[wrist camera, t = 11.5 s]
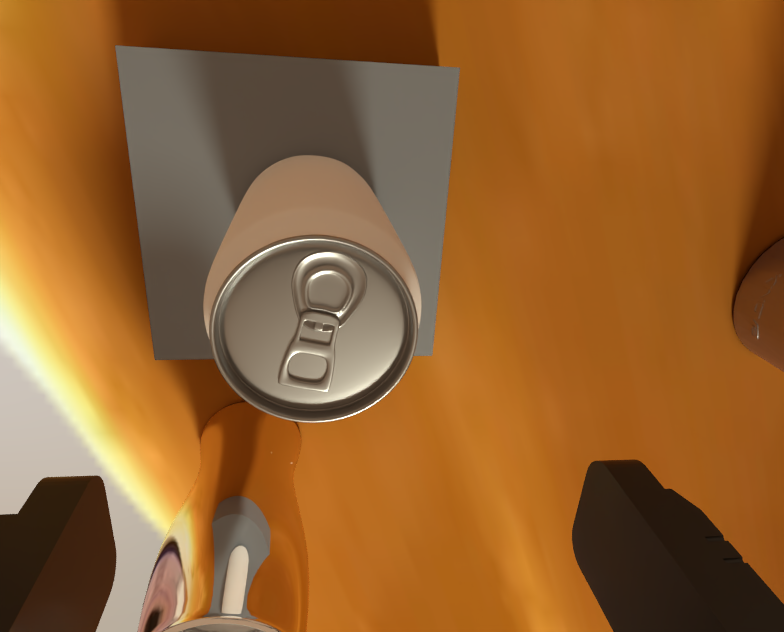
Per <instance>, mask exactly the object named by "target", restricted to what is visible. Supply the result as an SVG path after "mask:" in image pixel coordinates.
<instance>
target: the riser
mask: <svg viewBox="0 0 784 632" xmlns="http://www.w3.org/2000/svg"><path fill="white" fill-rule="evenodd" d="M115 48H116V56H117V64H118V72H119V80H120V88H121V96H122V104H123V112H124V119H125V127H126V135H127V143H128V151H129V159H130V167H131V175H132V183H133V191H134V199H135V207H136V215H137V222H138V230H139V238H140V246H141V254H142V262H143V270H144V278H145V286H146V294H147V302H148V310H149V317H150V325H151V333H152V341H153V349H154V357H155V360H184V359H214V357H213V354H212V350H211V345H210V339H209V337H208V334H207V330H206V326H205V321H204V312H203V302H204V292H205V286H206V281H207V278H208V274H209V272H210V269H211V266H212V264H213V261H214V259H215V257H216V254H217V252H218V250H219V247H220V245H221V243H222V241H223V239H224V237H225V235H226V232H227V230H228V228H229V226H230V224H231V222H232V220H233V218H234V216H235V214H236V212H237V210H238V207H239V205H240V203H241V201H242V199H243V198H244V196H245V194H246V192H247V190H248V189H249V187H250V186H251V184H252V183H253V181H254V180H255V179H256V178H257V177H258V176H259V175H260V174H261V173H262V172H263V171H264V170H266V169H267V168H268V167H270V166H271V165H273V164H275V163H277V162H279V161H281V160H283V159H286V158H289V157H294V156H300V155H315V156H324V157H328V158H332V159H335V160H338V161H341V162H343V163H345V164H346V165H348V166H349V167H351V168H352V169H353V170H355V171H356V172H357V173H358V174H359V175H360V176H361V177H362V178H363V179H364V180H365V181H366V183H367V184H368V185H369V187H370V188H371V189H372V191H373V193H374V194H375V196H376V198H377V199H378V201H379V203H380V205H381V206H382V208H383V210H384V212H385V213H386V215H387V217H388V219H389V221H390V222H391V224H392V226H393V228H394V230H395V231H396V233H397V235H398V237H399V239H400V241H401V243H402V244H403V246H404V248H405V250H406V252H407V254H408V256H409V258H410V260H411V262H412V265H413V267H414V269H415V272H416V275H417V279H418V283H419V287H420V293H421V318H420V324H419V329H418V338H417V344H416V349H415V352H414V355H413V356H432V353H433V342H434V332H435V321H436V311H437V301H438V290H439V280H440V269H441V259H442V249H443V238H444V228H445V217H446V207H447V197H448V186H449V176H450V165H451V155H452V144H453V134H454V124H455V113H456V103H457V92H458V82H459V72H460V68H455V67H440V66H425V65H409V64H394V63H378V62H363V61H348V60H332V59H317V58H301V57H286V56H271V55H255V54H240V53H224V52H209V51H194V50H178V49H163V48H147V47H132V46H117V45H115Z"/></svg>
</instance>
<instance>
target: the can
mask: <svg viewBox="0 0 784 632" xmlns="http://www.w3.org/2000/svg"><path fill="white" fill-rule="evenodd" d="M203 312H204V321H205V326H206V330H207V334H208V337H209V339H210V345H211V350H212V354H213V357H214V360H215V362H216V365H217V367H218V369H219V371H220V373H221V374H222V376H223V377H224V379H225V380H226V382H227V383H228V384H229V386H230V387H231V388H232V389H233V390H234V391H235V392H236V393H237V394H238V395H239V396H240V397H241V398H243V399H244V400H245V401H246V402H248V403H249V404H251V405H252V406H254V407H255V408H257V409H259V410H261V411H263V412H265V413H267V414H270V415H272V416H275V417H278V418H281V419H285V420H290V421H295V422H305V423H320V422H329V421H335V420H340V419H343V418H347V417H350V416H353V415H355V414H358V413H360V412H362V411H364V410H366V409H368V408H370V407H371V406H373V405H374V404H376V403H377V402H379V401H380V400H381V399H383V398H384V397H385V396H386V395H387V394H389V393H390V392H391V391H392V390H393V389H394V387H395V386H396V385H397V384H398V383H399V381H400V380H401V379H402V377H403V376H404V374H405V373H406V371H407V369H408V367H409V365H410V363H411V361H412V358H413V355H414V352H415V349H416V344H417V338H418V329H419V324H420V318H421V293H420V287H419V283H418V279H417V275H416V272H415V269H414V267H413V265H412V262H411V260H410V258H409V256H408V254H407V252H406V250H405V248H404V246H403V244H402V243H401V241H400V239H399V237H398V235H397V233H396V231H395V230H394V228H393V226H392V224H391V222H390V221H389V219H388V217H387V215H386V213H385V212H384V210H383V208H382V206H381V205H380V203H379V201H378V199H377V198H376V196H375V194H374V193H373V191H372V189H371V188H370V187H369V185H368V184H367V183H366V181H365V180H364V179H363V178H362V177H361V176H360V175H359V174H358V173H357V172H356V171H355V170H353V169H352V168H351V167H349V166H348V165H346V164H345V163H343V162H341V161H338V160H335V159H332V158H328V157H324V156H315V155H300V156H294V157H289V158H286V159H283V160H281V161H279V162H277V163H275V164H273V165H271V166H270V167H268V168H267V169H266V170H264V171H263V172H262V173H261V174H260V175H259V176H258V177H257V178H256V179H255V180H254V181H253V183H252V184H251V186H250V187H249V189H248V190H247V192H246V194H245V196H244V198H243V199H242V201H241V203H240V205H239V207H238V210H237V212H236V214H235V216H234V218H233V220H232V222H231V224H230V226H229V228H228V230H227V232H226V235H225V237H224V239H223V241H222V243H221V245H220V247H219V250H218V252H217V254H216V257H215V259H214V261H213V264H212V266H211V269H210V272H209V274H208V278H207V281H206V286H205V292H204V302H203Z"/></svg>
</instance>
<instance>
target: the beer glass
mask: <svg viewBox="0 0 784 632" xmlns="http://www.w3.org/2000/svg"><path fill="white" fill-rule="evenodd" d="M300 450H301V436H300V432H299V429H298V427H297V425H296V423H295V422H294V421H290V420H285V419H281V418H278V417H275V416H272V415H270V414H267V413H265V412H263V411H261V410H259V409H257V408H255V407H254V406H252V405H251V404H249V403H248V402H240V403H235V404H232V405H229V406H227V407H225V408H223V409H221V410H220V411H218V412H217V413H216V414H215V415H213V416H212V417H211V419H210V420H209V421H208V422H207V424H206V426H205V427H204V430H203V432H202V436H201V441H200V460H201V463H200V470H199V473H198V476H197V479H196V481H195V483H194V485H193V486H192V488H191V490H190V492H189V494H188V495H187V497H186V499H185V501H184V503H183V504H182V506H181V508H180V510H179V512H178V513H177V515H176V517H175V519H174V521H173V523H172V525H171V527H170V529H169V531H168V533H167V535H166V537H165V539H164V541H163V544H162V546H161V548H160V551H159V553H158V556H157V559H156V562H155V565H154V568H153V571H152V574H151V577H150V580H149V584H148V588H147V592H146V595H145V599H144V603H143V608H142V613H141V617H140V622H139V626H138V631H137V632H307V619H308V605H309V566H308V552H307V546H306V540H305V533H304V528H303V524H302V519H301V515H300V511H299V506H298V502H297V498H296V494H295V488H294V471H295V468H296V464H297V461H298V458H299V454H300Z"/></svg>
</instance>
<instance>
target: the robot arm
mask: <svg viewBox="0 0 784 632" xmlns="http://www.w3.org/2000/svg"><path fill="white" fill-rule="evenodd" d="M734 326H735V330H736V334H737V335H738V337H739V339H740V341H741V342H742V344H743V345H745V346H746V347H747V348H748V349H749V350H750V351H752V352H753V353H755V354H756V355H758V356H759V357H761V358H763V359H764V360H766V361H767V362H769V363H770V364H772V365H774V366H775V367H777V368H778V369H780V370H782V371H783V372H784V238H783V239H781V240H780V241H778V242H776V243H775V244H774V245H773V246H772V247H770V248H769V249H768V250H767V251H766V252H764V253H763V254H762V255H761V257H760V258H759V259H758V260H757V261H756V262H755V263H754V265H753V266H752V267H751V268H750V270H749V272H748V273H747V275H746V276H745V278H744V279H743V281H742V284H741V286H740V288H739V291H738V293H737V296H736V301H735V305H734ZM572 542H573V549H574V554H575V557H576V560H577V563H578V565H579V567H580V569H581V571H582V573H583V575H584V577H585V579H586V580H587V582H588V584H589V586H590V588H591V590H592V592H593V594H594V595H595V597H596V599H597V601H598V603H599V605H600V607H601V609H602V611H603V612H604V614H605V616H606V618H607V620H608V622H609V624H610V626H611V627H612V629H613V631H614V632H784V604H783V603H782V602H781V601H780V600H779V599H778V597H777V596H776V595H775V594H774V593H773V592H772V591H771V589H770V588H769V587H768V586H767V585H766V584H765V583H764V581H763V580H762V579H761V578H760V577H759V576H758V575H757V573H756V572H755V571H754V570H753V569H752V568H751V567H750V565H749V564H748V563H744V562H743V560H742V556H741V555H740V554H739V553H738V552H737V551H736V549H735V548H734V547H733V546H732V545H731V544H730V543H729V541H725V540H724V538H723V535H722V533H721V532H720V531H719V530H718V529H717V528H716V527H715V525H714V524H713V523H712V522H711V521H710V520H709V519H708V517H707V516H706V515H705V514H704V513H703V512H702V510H700V509H699V508H698V507H696V506H695V505H693V504H692V503H690V502H689V501H688V500H686V499H685V498H683V497H682V496H681V495H679V494H678V493H676V492H675V491H673V490H672V489H664V488H663V486H662V485H661V484H660V483H659V482H658V480H657V479H656V478H655V477H654V476H653V474H652V473H651V472H650V471H649V470H648V468H647V467H646V466H645V465H644V464H643V463H642V462H640V461H638V460H607V461H594V462H592V463H591V464H590V466H589V467H588V470H587V473H586V477H585V481H584V485H583V489H582V493H581V497H580V501H579V505H578V509H577V513H576V517H575V521H574V524H573V530H572ZM115 569H116V548H115V541H114V537H113V530H112V524H111V519H110V514H109V508H108V502H107V497H106V492H105V486H104V483H103V480H102V478H101V477H100V476H74V477H73V476H71V477H47V478H44V479H42V480H41V481H40V482H39V483H38V484H37V485H36V487H35V488H34V490H33V491H32V493H31V495H30V496H29V498H28V499H27V501H26V502H25V504H24V505H23V507H22V508H21V510H20V511H19V513H18V514H6V515H0V632H96V629H97V626H98V624H99V621H100V618H101V616H102V613H103V611H104V608H105V606H106V603H107V600H108V598H109V595H110V592H111V589H112V586H113V581H114V576H115Z"/></svg>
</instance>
